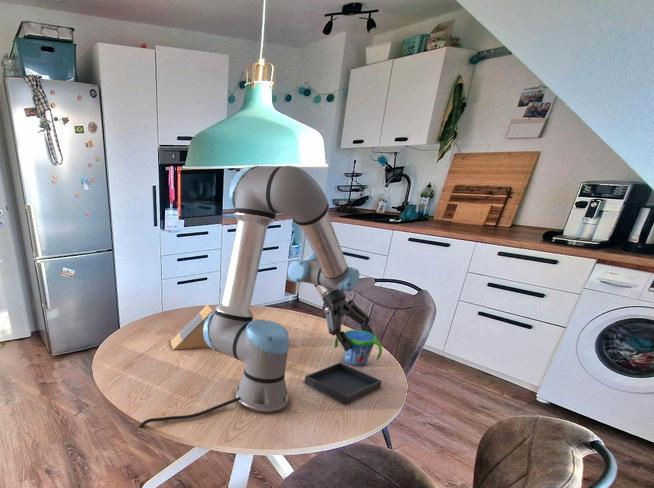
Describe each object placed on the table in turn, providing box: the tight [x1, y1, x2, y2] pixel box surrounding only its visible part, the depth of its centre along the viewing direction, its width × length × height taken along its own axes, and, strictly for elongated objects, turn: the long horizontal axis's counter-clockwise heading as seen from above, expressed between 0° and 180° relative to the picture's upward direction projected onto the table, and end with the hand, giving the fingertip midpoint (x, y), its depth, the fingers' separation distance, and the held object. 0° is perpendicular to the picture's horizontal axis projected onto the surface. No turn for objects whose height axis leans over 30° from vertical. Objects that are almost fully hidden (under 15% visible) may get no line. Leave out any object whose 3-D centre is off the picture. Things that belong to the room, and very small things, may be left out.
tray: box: [304, 362, 383, 405], centre depth 122 cm, size 17×15×2 cm
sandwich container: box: [170, 303, 214, 350], centre depth 150 cm, size 9×15×15 cm, turn 98°
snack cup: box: [333, 329, 383, 366], centre depth 136 cm, size 16×10×10 cm
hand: (361, 345), depth 134 cm, fingers open, 13 cm apart
